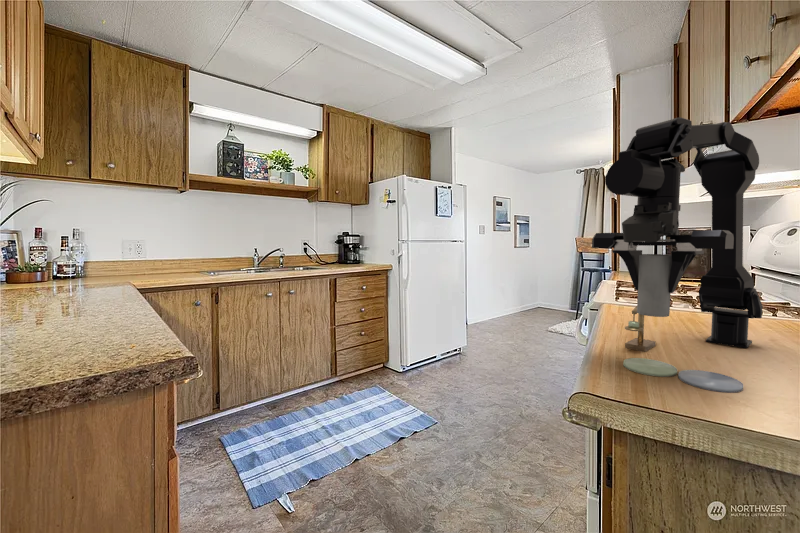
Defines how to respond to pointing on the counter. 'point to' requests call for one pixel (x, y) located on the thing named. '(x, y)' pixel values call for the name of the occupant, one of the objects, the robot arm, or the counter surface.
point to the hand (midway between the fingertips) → (653, 291)
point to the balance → (638, 326)
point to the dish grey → (711, 381)
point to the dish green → (650, 367)
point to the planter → (654, 285)
